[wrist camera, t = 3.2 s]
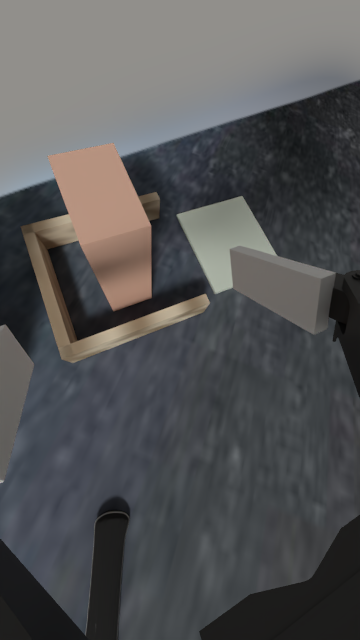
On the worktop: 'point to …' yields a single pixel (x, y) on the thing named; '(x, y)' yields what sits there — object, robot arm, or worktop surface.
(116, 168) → the peach block
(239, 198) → the sage mat
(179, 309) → the birch bay
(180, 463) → the worktop surface
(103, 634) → the kitchen cleaver
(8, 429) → the robot arm
